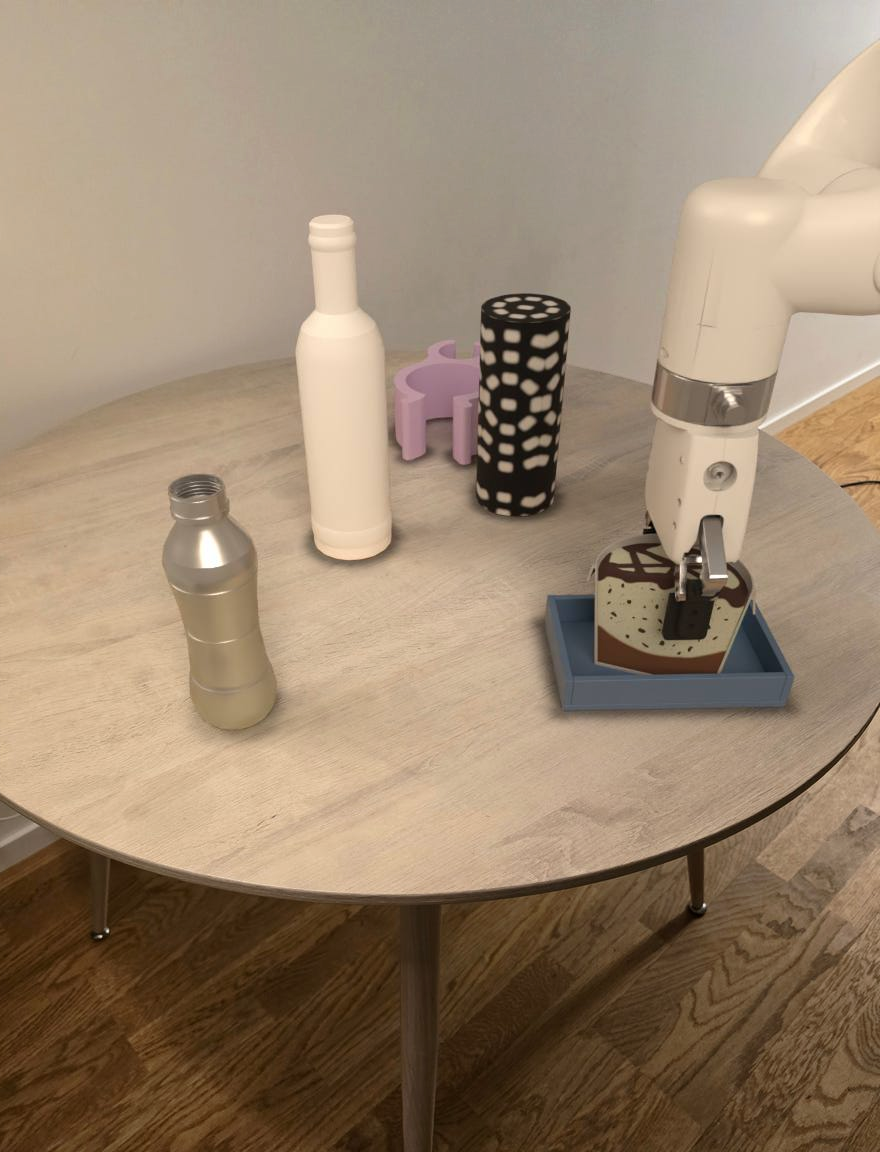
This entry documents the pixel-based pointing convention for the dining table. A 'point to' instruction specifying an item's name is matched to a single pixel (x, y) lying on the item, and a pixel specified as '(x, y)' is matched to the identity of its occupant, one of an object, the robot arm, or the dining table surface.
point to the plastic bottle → (218, 604)
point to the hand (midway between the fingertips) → (669, 602)
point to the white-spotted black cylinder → (520, 401)
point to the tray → (743, 682)
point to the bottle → (343, 403)
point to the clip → (438, 400)
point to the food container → (659, 611)
